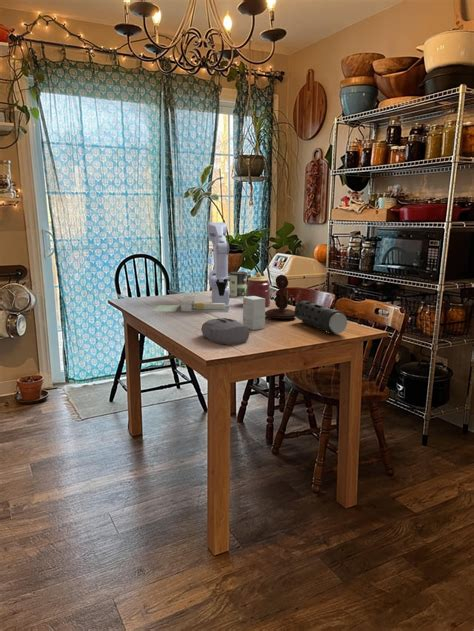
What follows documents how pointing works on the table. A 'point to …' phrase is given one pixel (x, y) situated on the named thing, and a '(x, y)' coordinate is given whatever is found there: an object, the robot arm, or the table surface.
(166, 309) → the mat
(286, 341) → the table surface
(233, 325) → the soft grey pack
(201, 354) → the table surface
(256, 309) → the small box
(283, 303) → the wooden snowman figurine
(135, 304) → the table surface
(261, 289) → the canister
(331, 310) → the muzzle brake
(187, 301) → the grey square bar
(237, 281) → the coffee can
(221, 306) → the plug
